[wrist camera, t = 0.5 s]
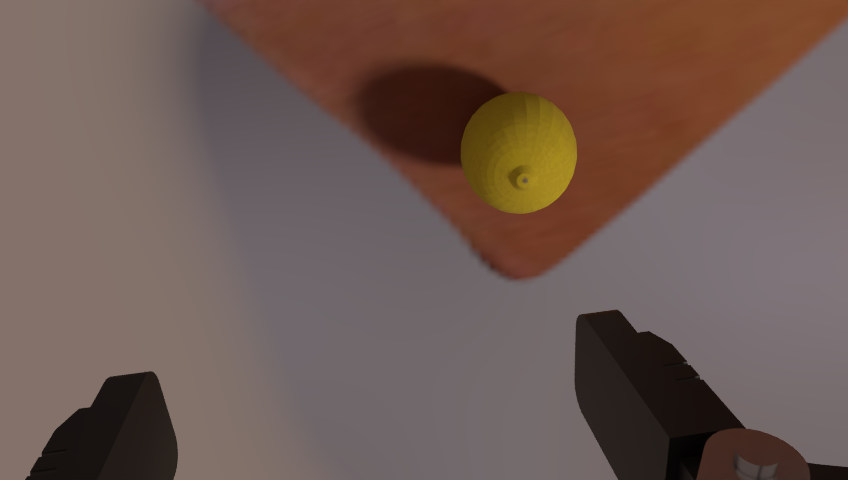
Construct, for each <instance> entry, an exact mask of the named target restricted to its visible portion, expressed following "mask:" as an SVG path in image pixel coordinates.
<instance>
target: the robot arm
mask: <svg viewBox="0 0 848 480" xmlns="http://www.w3.org/2000/svg"><path fill="white" fill-rule="evenodd" d="M575 391H576V396H577V400H578V403H579V407H580V409H581V412H582V414H583V416H584V418H585V419H586V421H587V423H588V425H589V426H590V429H591V430H592V432H593V434H594V436H595V438H596V440H597V442H598V443H599V445H600V447H601V449H602V451H603V453H604V454H605V456H606V458H607V460H608V462H609V464H610V465H611V467H612V469H613V471H614V473H615V475H616V476H617V478H618V480H848V467H841V466H830V465H820V464H812V463H807V462H806V461H805V459H804V458H803V457H802V456H801V454H800V453H799V452H798V451H797V450H795V449H794V448H793V447H792V446H790V445H789V444H788V443H786V442H785V441H783V440H781V439H779V438H777V437H775V436H772V435H770V434H767V433H764V432H761V431H757V430H751V429H746V428H745V427H744V426H743V425H742V424H741V422H740V421H739V420H738V419H737V418H736V417H735V416H734V414H733V413H732V412H731V411H730V410H729V409H728V408H727V406H726V405H725V404H724V403H723V402H722V401H721V400H720V399H719V397H718V396H717V395H716V394H715V393H714V392H713V391H712V390H711V388H710V387H709V386H708V385H707V384H706V383H705V381H704V380H700V376H699V375H698V373H697V372H696V371H695V370H694V369H693V368H692V367H691V365H688V364H687V361H686V360H685V359H684V358H683V356H682V355H681V354H680V353H679V352H678V351H677V350H676V348H675V347H674V346H673V345H672V344H670V343H669V342H667V341H665V340H663V339H662V338H660V337H658V336H656V335H655V334H653V333H651V332H649V331H648V332H640V333H637V332H636V330H635V329H634V328H633V327H632V326H631V324H630V323H629V322H628V321H627V319H626V318H625V317H624V316H623V314H622V313H621V312H620V311H618V310H611V311H603V312H596V313H588V314H581V315H579V316H578V318H577V321H576V342H575ZM177 460H178V449H177V441H176V436H175V432H174V429H173V426H172V423H171V419H170V416H169V413H168V410H167V406H166V403H165V399H164V396H163V393H162V390H161V387H160V383H159V380H158V378H157V376H156V375H155V373H154V372H151V371H150V372H143V373H135V374H128V375H120V376H113V377H109V378H107V379H106V381H105V382H104V384H103V386H102V387H101V389H100V391H99V393H98V395H97V397H96V398H95V400H94V402H93V404H92V405H91V407H89V408H81V409H78V410H77V411H76V412H75V413H74V414H73V415H72V416H70V417H69V418H68V419H67V420H66V421H65V422H64V423H63V424H61V425H60V426H59V427H58V428H57V429H56V430H55V431H54V433H53V435H52V437H51V438H50V440H49V441H48V443H47V445H46V447H45V448H44V450H43V451H42V457H39V458H38V460H37V461H36V463H35V464H34V466H33V468H32V469H31V471H30V476H28V477H27V478H26V479H25V480H173V479H174V476H175V472H176V468H177Z"/></svg>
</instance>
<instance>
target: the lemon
mask: <svg viewBox="0 0 848 480" xmlns="http://www.w3.org/2000/svg"><path fill="white" fill-rule="evenodd" d="M576 160H577V148H576V139H575V136H574V133H573V130H572V127H571V124H570V123H569V121H568V120H567V118H566V117H565V115H564V114H563V112H562V111H561V110H560V109H558V108H557V107H556V106H555V105H554V104H553V103H551V102H550V101H549V100H547V99H545V98H542V97H540V96H538V95H536V94H531V93H525V92H513V93H506V94H503V95H500V96H497V97H494V98H493V99H491V100H489V101H488V102H486V103H485V104H483V105H482V106H481V107H480V108H479V109H478V110H477V111H476V112H475V113H474V114H473V115H472V117H471V119H470V121H469V122H468V124H467V126H466V128H465V130H464V134H463V138H462V142H461V163H462V167H463V170H464V174H465V177H466V179H467V180H468V182H469V184H470V186H471V187H472V189H473V191H474V192H475V193H476V194H477V195H478V196H479V197H480V198H481V199H482V200H483V201H484V202H486V203H487V204H489V205H491V206H492V207H494V208H496V209H498V210H501V211H505V212H508V213H520V214H523V213H529V212H535V211H537V210H540V209H542V208H544V207H546V206H548V205H549V204H551V203H552V202H553V201H555V200H556V199H558V197H559V196H560V195H561V194H562V193H563V192H564V191H565V189H566V188H567V186H568V184H569V182H570V180H571V178H572V176H573V174H574V169H575V165H576Z"/></svg>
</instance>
